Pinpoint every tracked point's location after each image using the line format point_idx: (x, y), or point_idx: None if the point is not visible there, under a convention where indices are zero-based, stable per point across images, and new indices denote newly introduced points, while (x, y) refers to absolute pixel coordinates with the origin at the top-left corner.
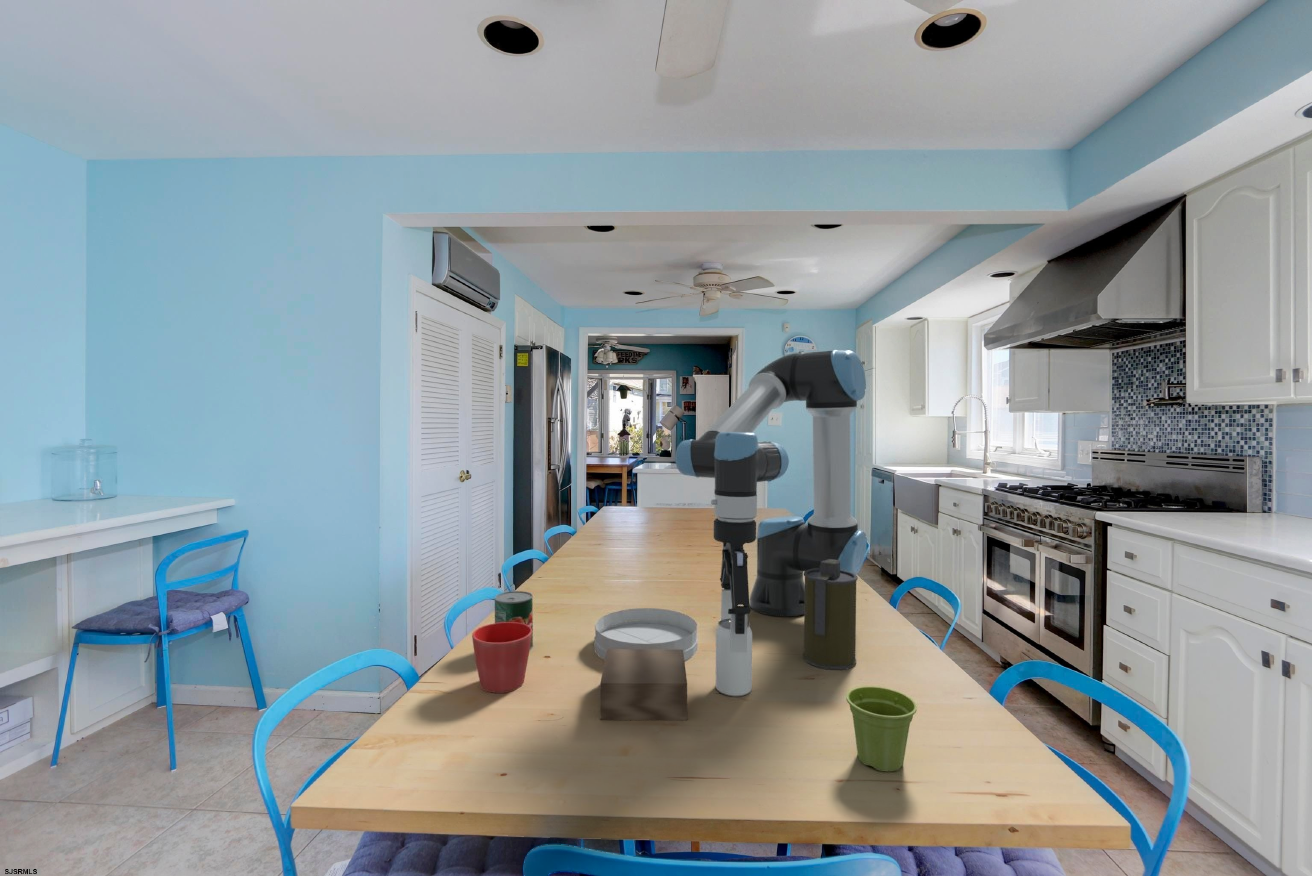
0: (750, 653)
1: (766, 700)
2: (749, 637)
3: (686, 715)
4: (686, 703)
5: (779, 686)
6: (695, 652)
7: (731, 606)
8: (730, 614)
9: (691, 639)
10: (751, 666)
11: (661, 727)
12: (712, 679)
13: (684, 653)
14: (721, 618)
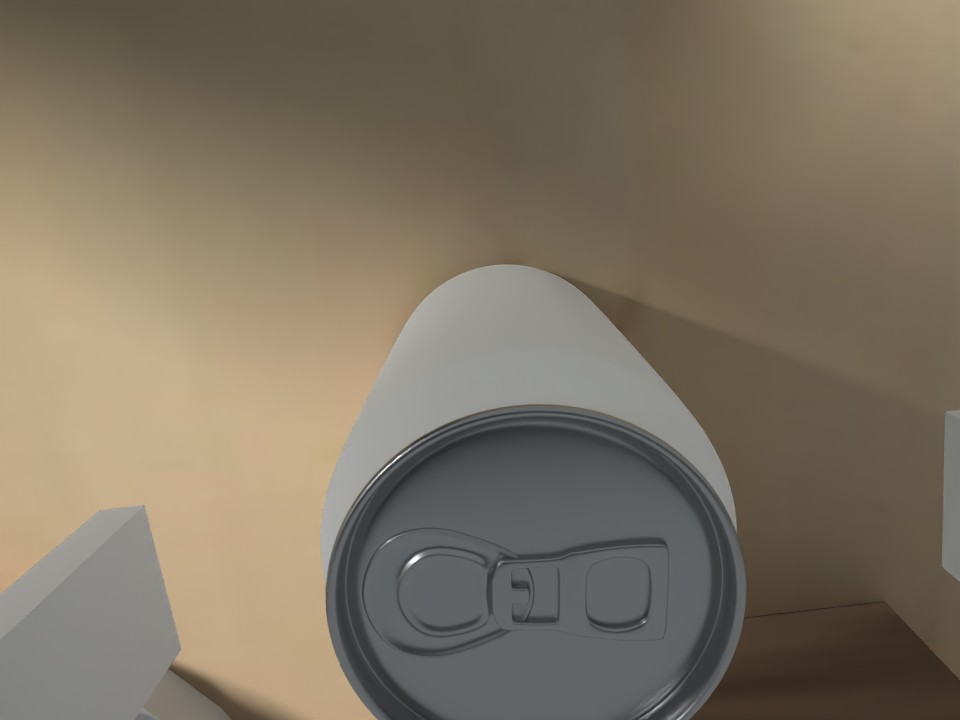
0: (594, 323)
1: (635, 172)
2: (646, 376)
3: (899, 618)
4: (935, 659)
5: (422, 68)
6: None
7: (29, 693)
8: (95, 629)
9: None
10: (552, 290)
11: None
12: None
13: None
14: (148, 694)
